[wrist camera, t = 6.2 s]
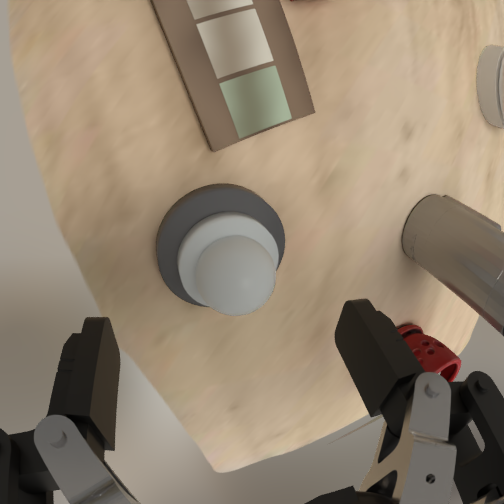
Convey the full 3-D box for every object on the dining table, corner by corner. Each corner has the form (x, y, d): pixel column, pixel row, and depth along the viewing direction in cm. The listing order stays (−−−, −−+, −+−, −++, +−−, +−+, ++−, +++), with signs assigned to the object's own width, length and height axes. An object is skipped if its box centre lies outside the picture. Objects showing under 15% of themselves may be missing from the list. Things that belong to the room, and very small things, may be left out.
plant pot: (427, 326, 51) (468, 367, 41) (380, 376, 54) (415, 420, 44) (405, 305, 44) (455, 354, 34) (348, 365, 46) (389, 420, 37)
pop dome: (253, 193, 24) (286, 225, 19) (280, 269, 29) (311, 310, 24) (159, 239, 23) (167, 283, 18) (201, 309, 28) (218, 357, 23)
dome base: (255, 162, 25) (264, 168, 24) (288, 262, 32) (297, 272, 30) (133, 220, 24) (133, 231, 23) (189, 311, 30) (193, 324, 29)
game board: (235, -86, 13) (239, -91, 12) (309, 111, 25) (315, 112, 24) (126, -61, 12) (125, -67, 11) (211, 149, 24) (213, 152, 23)
